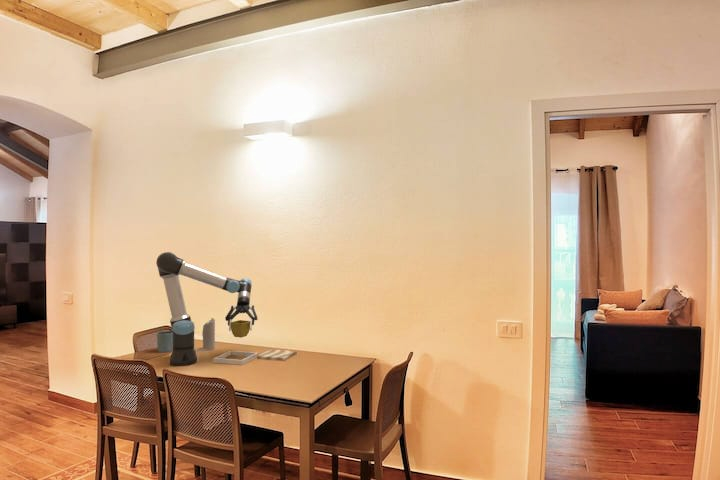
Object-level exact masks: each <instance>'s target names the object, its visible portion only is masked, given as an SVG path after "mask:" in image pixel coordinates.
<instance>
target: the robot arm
mask: <svg viewBox="0 0 720 480" xmlns="http://www.w3.org/2000/svg"><path fill="white" fill-rule="evenodd" d="M156 267H157V270H158V274H159V275H158V276H159V277H160V278H161V279H162V280H163V284H164V288H165V292H166V296H167V301H168V302H167V303H168V306H169V310H170V311H169V312H170V314H171V318H170V319H169V322H170V327H171V331H172V333H173V344H172V345H173V347H172V352H171V354H170V357H169V360H168V364H169V365H170V366H173V367H179V366H180V367H181V366H183V367H184V366H190V365H194V364H196V363H197V362H198V355H197V352H196V351H195V349H196V348H195V329H196V328H195V322H193V321H192V318H191V315H190V314H188V312H187V307H186V304H185V300H184V295H183V291H182V286H181V281H180V277H179V276H180V275H181V276H184V277H187V278H189V279H192V280H195V281H198V282H200V283H203V284H206V285H209V286H213V287H215V288H218V289H221V290H223V291H226V292H228V293H230V294H235V293H238V294H237V302H236V305H235V306H234V305H231V306H230V309H229V311H228V313H227V314H226V316H225V318H224V319H225V321H226V322H227V325H228V330H229V332H232V331H231V324H230V323H231V322H233V321H232V320H234V318H236V316H237V315H239V314H247V316H248V317H249V318H250V321H251V322H250V330H249V331H252V329H253V326H254V325H255V321H258V319H259V318H258V315H257V313H256V310H255V305H253V304H252V305H250V304H251V303H250V301H251V291H252V280H251V279H249V278H246V277H244V278H241V279H240V280H238V279H234V278H230V277H226V276H224V275H221V274H218V273H215V272H214V271H211V270H208V269H205V268H202V267H200V266H196V265H193V264H191V263H189V262H186V260H185V259H182V258H180V257H178V256H176V254H174V253H173V252H169V251H167V252H166V251H165V252H162V253H161V254H159V255H158V257H157V259H156ZM250 310H251V311H252V313H251V311H250Z"/></svg>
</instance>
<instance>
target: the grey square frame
mask: <svg viewBox="0 0 720 480" xmlns="http://www.w3.org/2000/svg"><path fill="white" fill-rule="evenodd" d="M258 355H259V352H251V351H242V350H241V351H240V350H229V351H226V352H224V353H222V354H220V355H217V356H215V357H213V358H212V363H214V364H227V365H239V366H242V365H245V364H247V363H249V362H251V361H252V360H255V359H257V356H258ZM230 356H238V357H239V356H240V357H245V358H243V359H234V358H229V357H230Z"/></svg>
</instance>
